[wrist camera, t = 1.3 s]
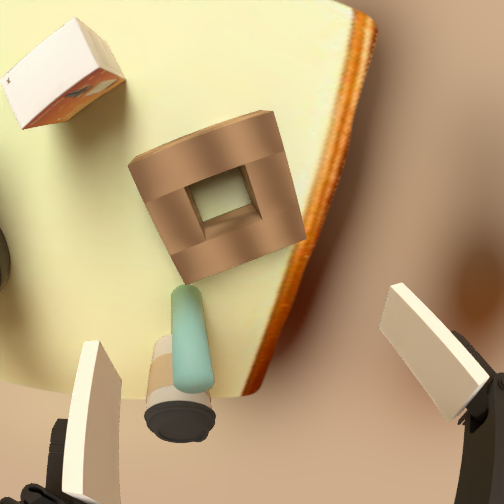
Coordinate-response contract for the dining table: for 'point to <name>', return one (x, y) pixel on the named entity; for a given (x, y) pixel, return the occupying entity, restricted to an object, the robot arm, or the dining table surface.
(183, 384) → the peg
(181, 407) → the coffee cup
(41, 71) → the small box
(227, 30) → the dining table surface
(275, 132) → the socket
